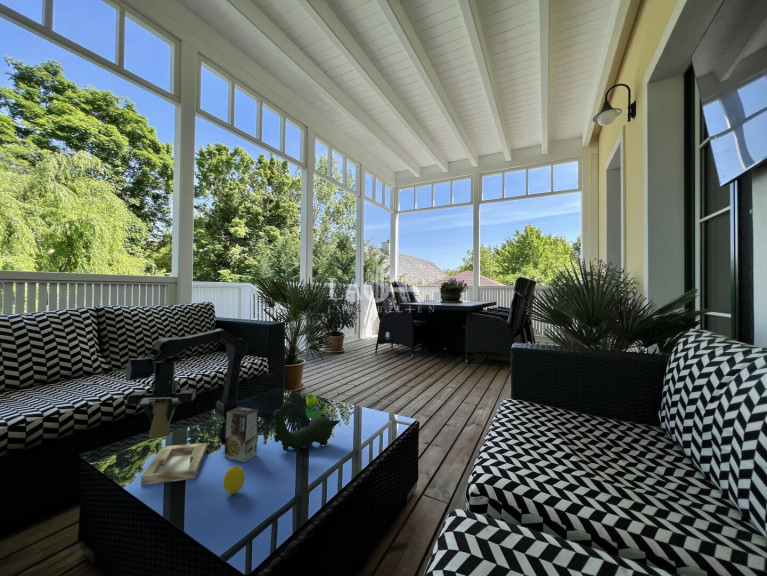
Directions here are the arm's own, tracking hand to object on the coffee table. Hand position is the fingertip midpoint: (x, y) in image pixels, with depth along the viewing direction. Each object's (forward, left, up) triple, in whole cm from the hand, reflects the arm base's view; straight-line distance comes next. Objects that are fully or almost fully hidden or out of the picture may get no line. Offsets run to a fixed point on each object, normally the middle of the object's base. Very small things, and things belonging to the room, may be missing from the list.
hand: (160, 422), depth 110 cm
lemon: (-26, +25, -13) cm, 38 cm away
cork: (0, 0, -4) cm, 4 cm away
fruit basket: (-56, -31, -13) cm, 65 cm away
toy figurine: (-49, 0, -13) cm, 50 cm away
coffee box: (-26, +2, -13) cm, 29 cm away
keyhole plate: (-7, +4, -13) cm, 15 cm away
